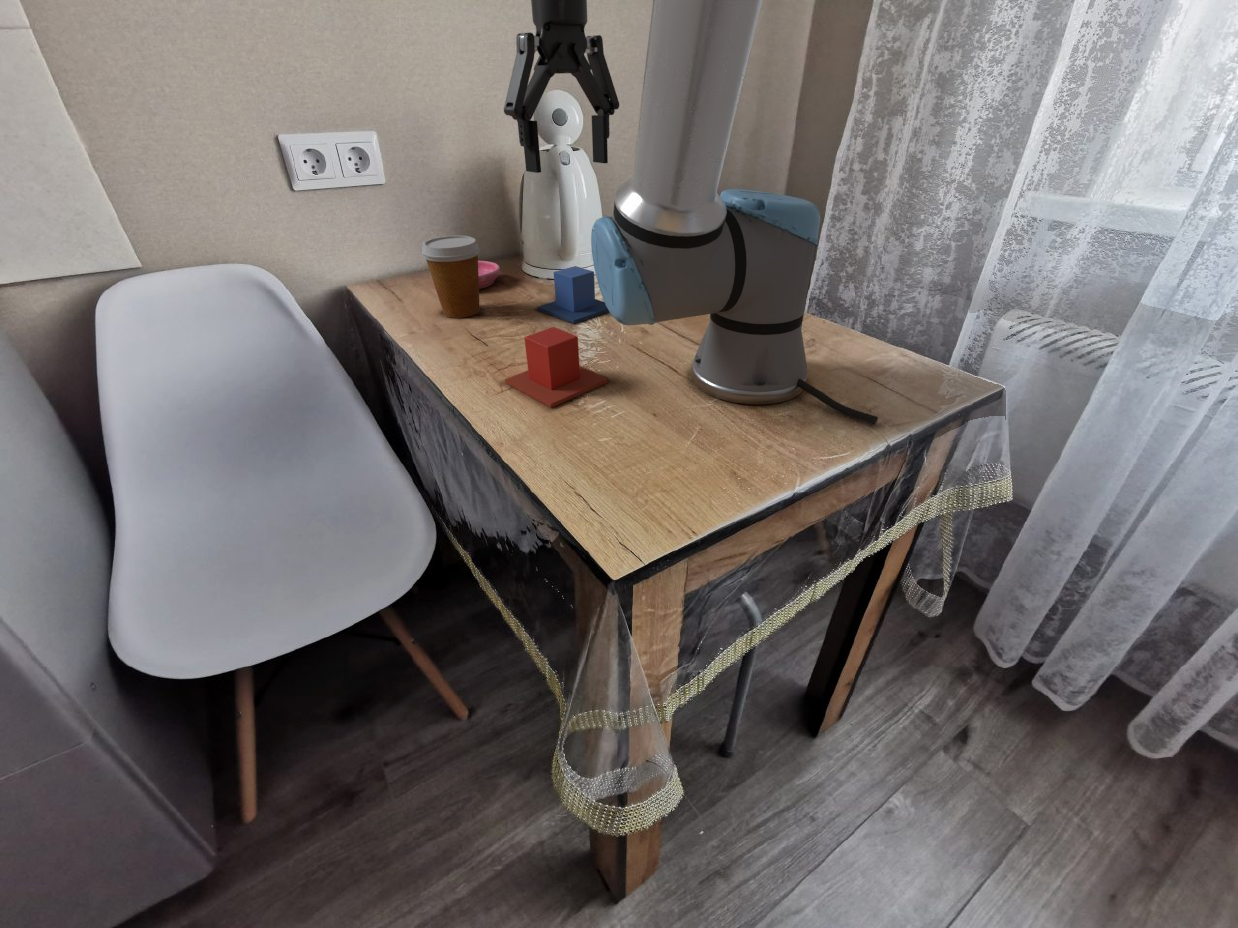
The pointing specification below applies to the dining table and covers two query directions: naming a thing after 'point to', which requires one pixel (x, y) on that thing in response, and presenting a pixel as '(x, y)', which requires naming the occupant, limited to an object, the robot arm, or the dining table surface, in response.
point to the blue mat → (574, 316)
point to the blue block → (574, 288)
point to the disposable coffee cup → (454, 273)
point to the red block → (552, 357)
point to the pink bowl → (487, 273)
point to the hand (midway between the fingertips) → (568, 167)
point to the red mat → (559, 394)
